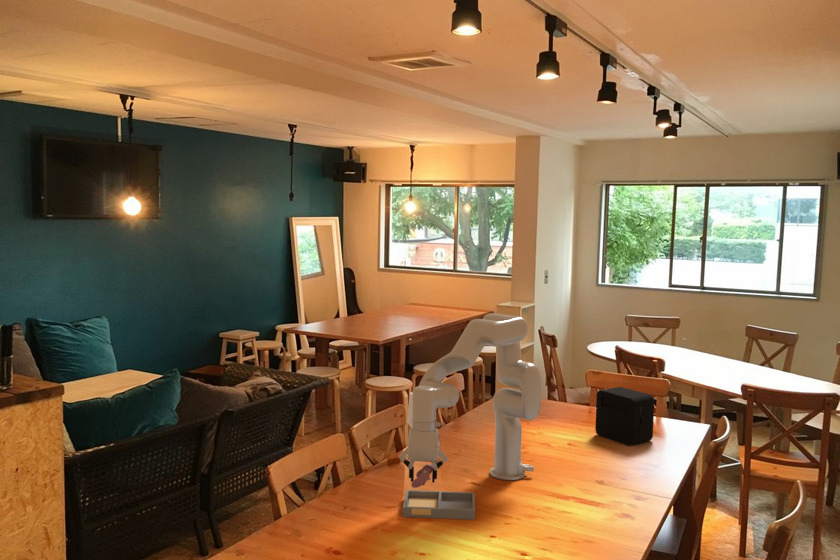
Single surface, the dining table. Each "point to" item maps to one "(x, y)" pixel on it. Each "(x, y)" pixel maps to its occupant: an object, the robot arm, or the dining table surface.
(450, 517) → the tray
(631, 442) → the air purifier
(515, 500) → the dining table surface
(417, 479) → the purple-brown lumpy piece
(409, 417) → the champagne flute
